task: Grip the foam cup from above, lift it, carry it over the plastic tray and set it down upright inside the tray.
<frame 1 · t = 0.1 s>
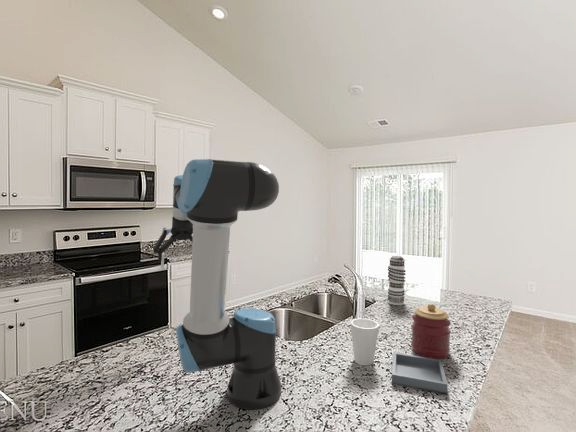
hand: (180, 266, 128), 28 cm above the countertop, tool tilted 20°, fingers open, 13 cm apart
decorative candle: (395, 302, 174), on the countertop
canister: (429, 351, 118), on the countertop
foam cup: (363, 361, 110), on the countertop
tray: (417, 376, 101), on the countertop
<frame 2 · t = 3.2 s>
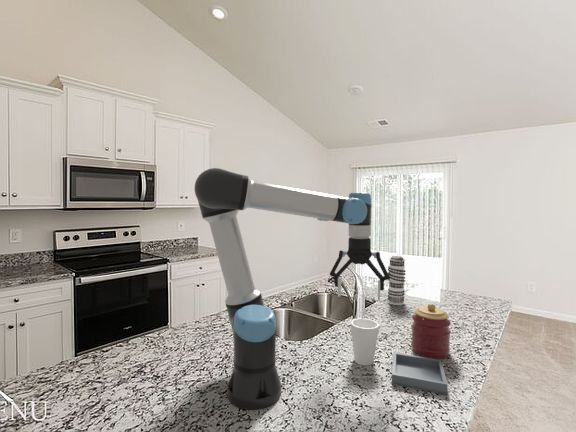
hand: (358, 297, 113), 21 cm above the countertop, tool pointing down, fingers open, 13 cm apart
nothing on the countertop moved.
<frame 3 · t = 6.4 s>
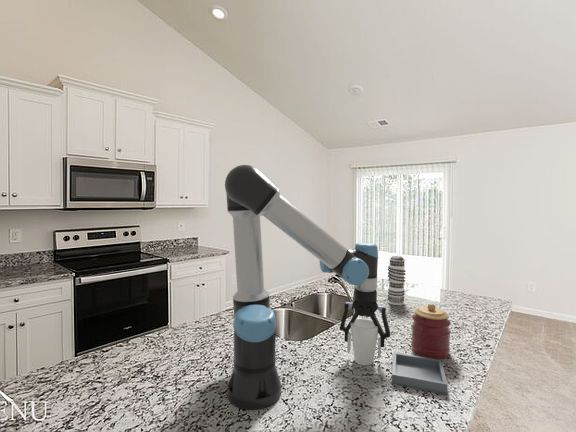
hand: (363, 353, 110), 3 cm above the countertop, tool pointing down, fingers closed on foam cup, 9 cm apart
foam cup: (363, 361, 110), on the countertop, touching gripper
everything else where it was.
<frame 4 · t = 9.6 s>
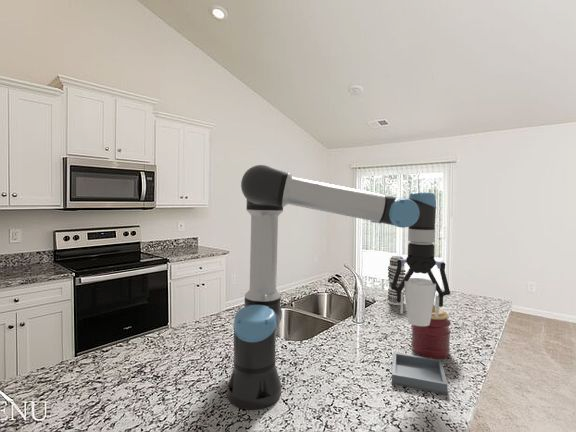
hand: (418, 314, 100), 20 cm above the countertop, tool pointing down, fingers closed on foam cup, 9 cm apart
foam cup: (418, 323, 100), point 17 cm above the countertop, touching gripper
everything else where it was.
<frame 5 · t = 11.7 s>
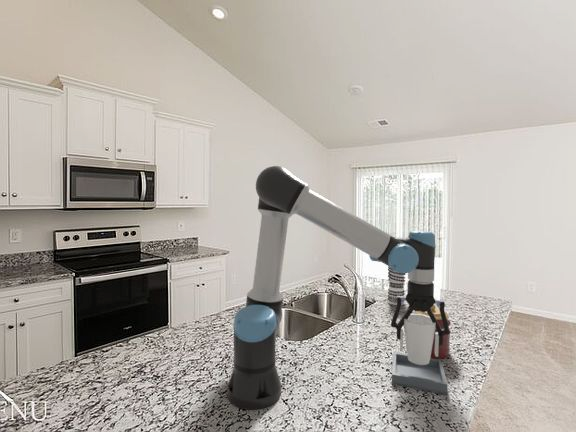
hand: (418, 351, 101), 8 cm above the countertop, tool pointing down, fingers closed on foam cup, 9 cm apart
foam cup: (418, 360, 101), point 5 cm above the countertop, touching gripper
everything else where it was.
when the fingers open (5 cm above the countertop, at t = 13.3 s): foam cup drops 2 cm, resting on tray.
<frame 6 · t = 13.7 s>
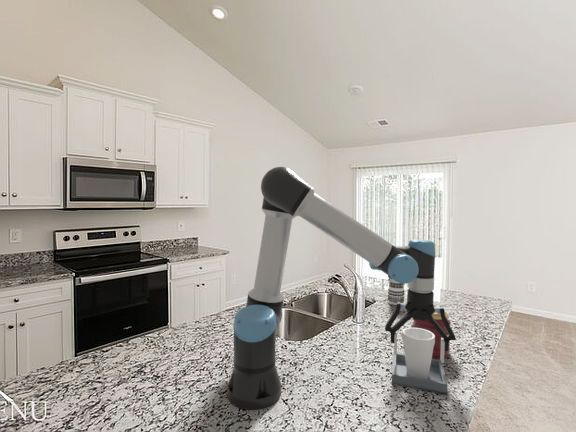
hand: (418, 356, 101), 6 cm above the countertop, tool pointing down, fingers open, 13 cm apart
foam cup: (417, 374, 101), resting on tray
everything else where it was.
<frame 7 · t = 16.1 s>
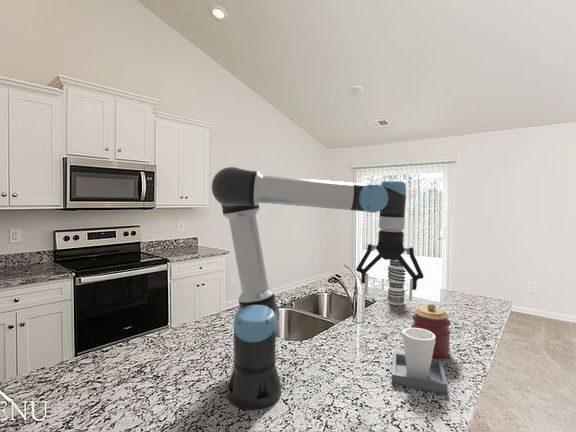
hand: (387, 296, 103), 24 cm above the countertop, tool pointing down, fingers open, 13 cm apart
nothing on the countertop moved.
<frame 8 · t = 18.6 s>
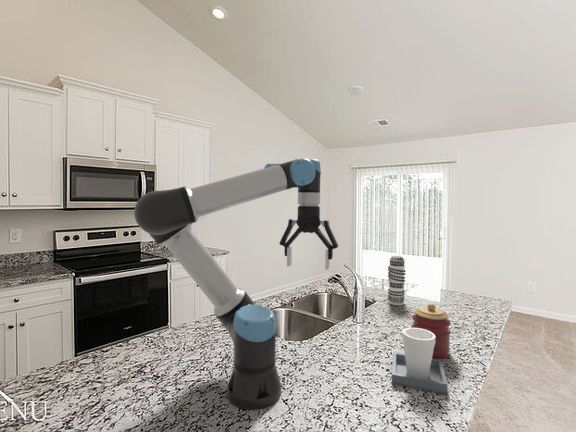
hand: (307, 267, 111), 32 cm above the countertop, tool pointing down, fingers open, 13 cm apart
nothing on the countertop moved.
at the end: foam cup inside the target area on the tray (0.0 cm from its centre), point 0.4 cm above the tray's base; foam cup tilted 0°; the gripper is holding nothing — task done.
